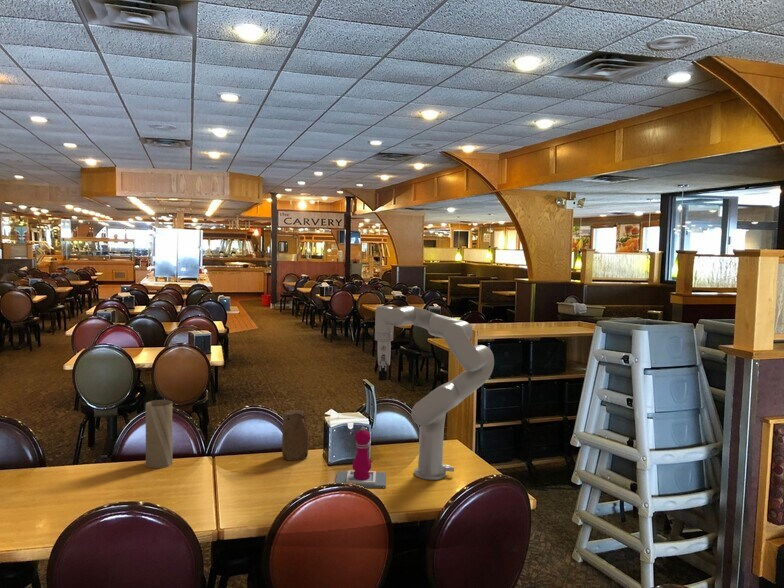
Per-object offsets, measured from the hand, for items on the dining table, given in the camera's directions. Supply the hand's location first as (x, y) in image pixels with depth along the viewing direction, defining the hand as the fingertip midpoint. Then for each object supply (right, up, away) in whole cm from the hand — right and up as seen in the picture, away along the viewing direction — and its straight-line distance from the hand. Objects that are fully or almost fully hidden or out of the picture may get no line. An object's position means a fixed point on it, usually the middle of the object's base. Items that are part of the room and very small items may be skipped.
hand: (382, 377), depth 253 cm
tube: (-90, -34, -4) cm, 96 cm away
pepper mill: (-8, -37, -15) cm, 40 cm away
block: (-37, -35, +7) cm, 51 cm away
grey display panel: (-8, -38, -15) cm, 41 cm away
